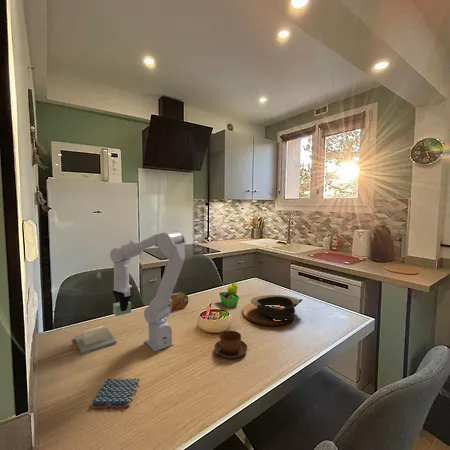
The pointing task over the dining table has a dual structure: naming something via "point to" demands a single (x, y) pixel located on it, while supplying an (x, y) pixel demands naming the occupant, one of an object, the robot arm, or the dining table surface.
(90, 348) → the baseplate
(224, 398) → the dining table surface
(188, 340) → the dining table surface
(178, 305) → the tin
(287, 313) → the stone bowl
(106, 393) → the woven mat
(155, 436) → the dining table surface
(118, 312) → the brick
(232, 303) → the fruit basket
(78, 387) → the dining table surface
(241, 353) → the cup and saucer
